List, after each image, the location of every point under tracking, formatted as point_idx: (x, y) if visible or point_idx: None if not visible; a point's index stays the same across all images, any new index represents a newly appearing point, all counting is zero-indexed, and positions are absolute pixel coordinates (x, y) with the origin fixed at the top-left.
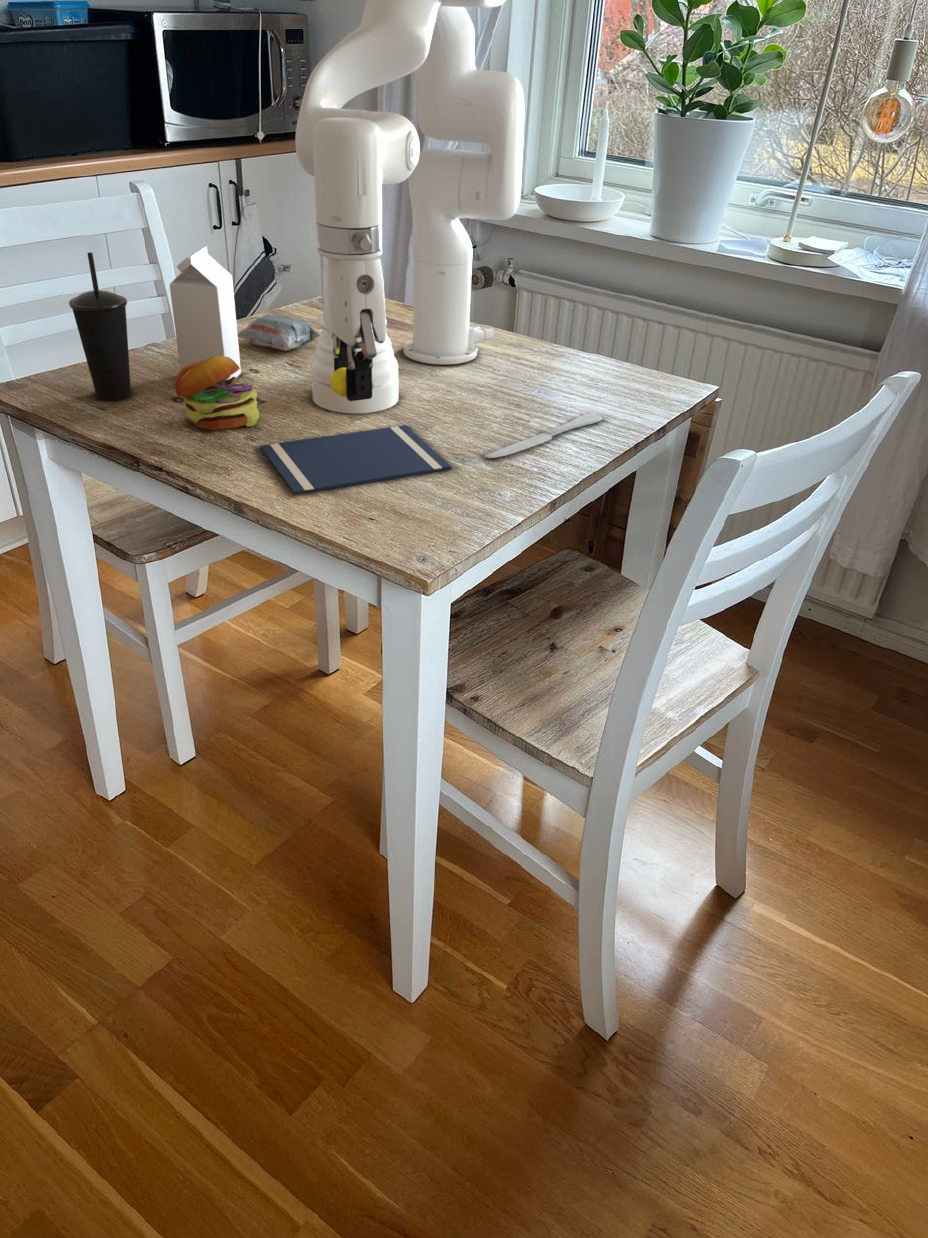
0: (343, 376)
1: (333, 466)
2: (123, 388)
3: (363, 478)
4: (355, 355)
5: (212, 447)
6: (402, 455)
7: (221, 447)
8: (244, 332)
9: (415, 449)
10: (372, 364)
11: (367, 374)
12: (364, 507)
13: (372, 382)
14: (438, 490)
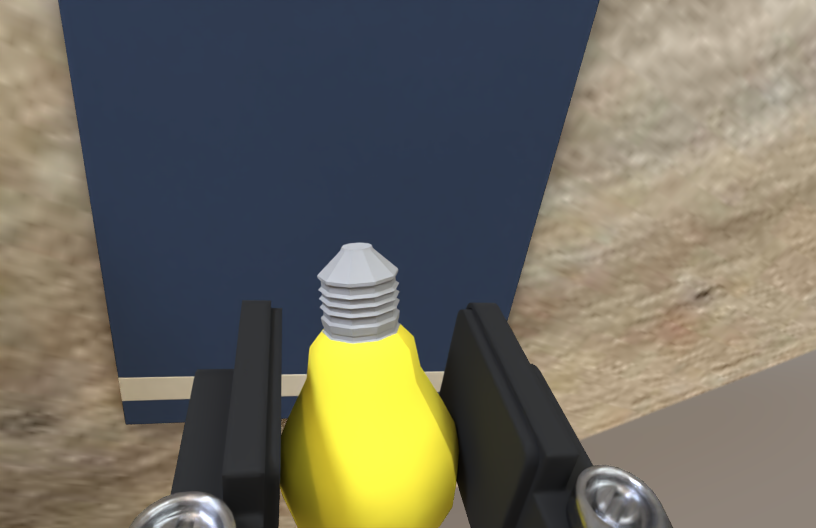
0: (438, 524)
1: None
2: None
3: (518, 237)
4: (228, 492)
5: (79, 510)
6: (425, 9)
7: (85, 494)
8: None
9: None
10: (657, 501)
11: (584, 455)
12: (644, 287)
13: (380, 277)
14: (725, 35)
